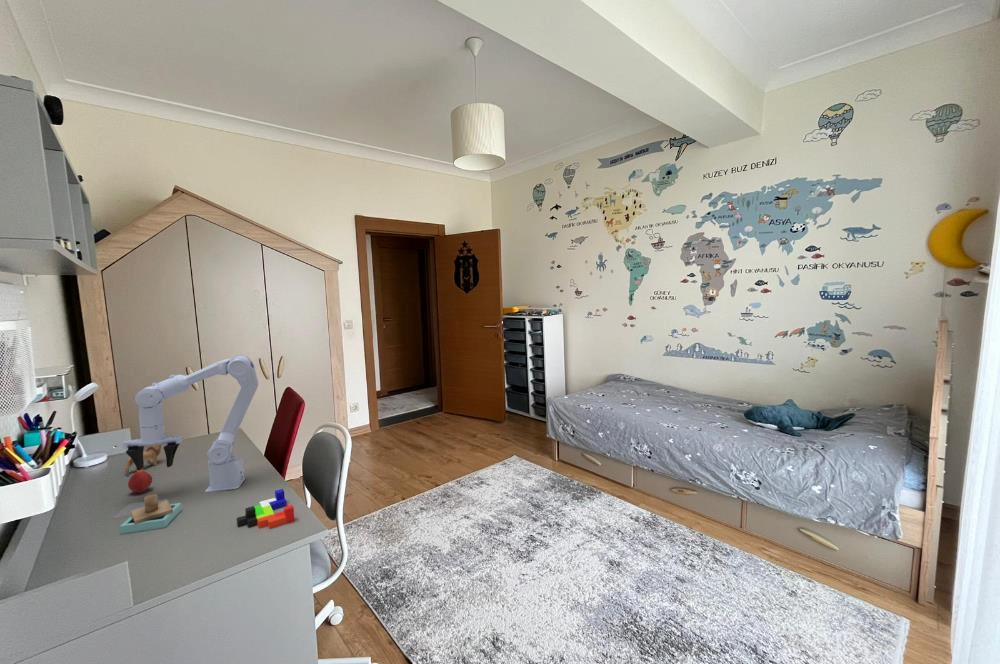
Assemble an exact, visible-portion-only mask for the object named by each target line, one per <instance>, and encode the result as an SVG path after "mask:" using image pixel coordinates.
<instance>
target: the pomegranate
mask: <svg viewBox="0 0 1000 664" xmlns="http://www.w3.org/2000/svg"><path fill="white" fill-rule="evenodd" d="M142 470H144V468H143V469H141V470H136V471H135V473H133V474H132V476H131V477H130V478H129V479H128V482H127V486H128V489H129V490H130V491H132V492H134V493H138V494H139V493H140V494H141V493H144V492H145V491H146V490H147V489H149V487H150V486H151V485H152V483H153V477H152V475H151V474H150V473H149V472H146V471H145V470H144V471H142Z"/></svg>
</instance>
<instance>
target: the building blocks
mask: <svg viewBox="0 0 1000 664" xmlns="http://www.w3.org/2000/svg"><path fill="white" fill-rule="evenodd" d="M274 496H275V497H273V498H269V499H265V500H262V501H259V504H258V505H253V506H250V507H245V512H244V515H243V516H238V517H236V526H237V528H240V527H243V526H244V527H245V526H247V528H248V529H249V528H253V527H256V526H257V527H258V529H262V528H265V527H268V530H269V529H273V528H277V527H280V526H283V525H286V524H289V523H292V522H295V508H294V507H295V506H293V504H290V505H287V499H286V498H285V490H284V488H280V489H278V490H277V489H276V490H274ZM281 508H283V510H282V511H279V512H275V513H274V511H276V510H278V509H281Z"/></svg>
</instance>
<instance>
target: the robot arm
mask: <svg viewBox="0 0 1000 664" xmlns="http://www.w3.org/2000/svg"><path fill="white" fill-rule="evenodd" d="M228 374H229V375H230V376H231V377H233V378H234V379H235V380H236V382H237V383H238V384H239V386H240V389H239V392H238V394H237V396H236V398H235V401H234V403H233V405H232V407H231V409H230V411H229V413H228V415H227V417H226V419H225V422H224V424H223V427H222V429H221V430H220V434H219V435H218V437H217V438H216V439H214V441H213V442H212V444H211V446H210V448H209V449H208V450H207V453H206V457H207V460H208V462H207V465H208V477H209V481H208V482H209V486H208V487H207V488H206V489H205V490H204V492H205V493H209V492H217V491H225V490H226V491H228V490H236V489H239V488H240V486H241V485H242V484H243V482H245V480H246V477H245V469H244V468H245V467H244V465H245V464H244V460H243V458H241V457H239V458H237V457H235V455H234V454H233V452H232V450H233V449H234V440H235V437H236V435H237V433H238V431H239V428H240V426H241V424H242V422H243V420H244V417H245V415H246V414H247V412H248V409H249V407H250V405H251V402H252V400H253V398H254V395H255V393H256V391H257V389H258V387H259V380H258V376H257V371H256V366H255V364H254V362H253V361H252V360H251V359H250V357H249V356H246V355H244V354H240V355H236V356H234V357H230V358H226V359H223V360H219V361H216V362H214V363H212V364H210V365H207V366H205V367H203V368H201V369H199V370H197V371H194V372H192V373H190V374H187V375H185V374H184V375H183V374H177V375H176V374H171V375H170V376H168V378H167V379H165V380H162V381H160V382H152V383H151V385H150V386H145V387H144V388H142V389H141V390H139V391H138V392H137V394H136V395H135V397H134V400H135V403H136V405H138V418H139V430H140V433H139V434H140V438H136V439H129V440H125V441H123V443H122V446H123V447H122V448H123V450H124V449H125V454H126V455H128V457H131V459H132V460H133V462H134V463H135V464H134V463H133V464H134V466H135V469H136V468H137V470H136V471H138V470H141V469H143V470H144V468H145V467H144V466H145V463H144V461H143V452H144V451H145V450H144V449H145V447H148V446H150V445H161V446H162V445H164V446H163V450H164V453H165V460H166V462H165V463H166V467H167V468H170V467H172V466H173V465H174V459H175V455H176V452H177V451H178V448H179V446H180V444H181V443H182V442H183V435H166V433H165V432H166V431H165V419H164V409H163V400H165V401H166V400H169V399H171V398H173V397H176V396H179V395H180V394H182V393H185V392H187V391H189V390H190V387H191V385H194V384H195V383H198V382H201V381H203V380H206V379H209V378H211V377H214V376H216V375H219V376H227V375H228ZM126 449H127V450H126Z"/></svg>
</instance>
